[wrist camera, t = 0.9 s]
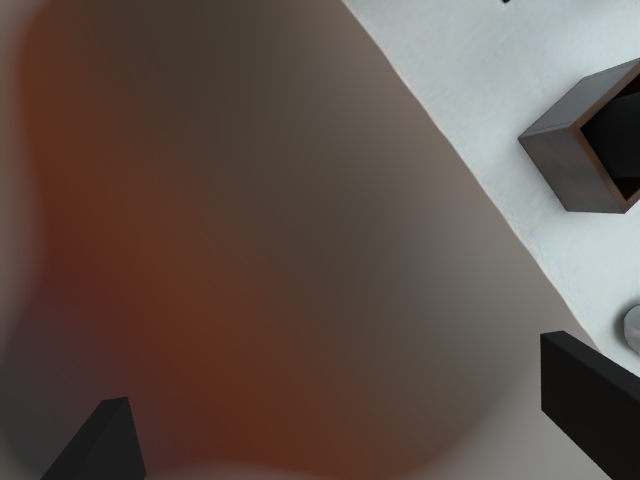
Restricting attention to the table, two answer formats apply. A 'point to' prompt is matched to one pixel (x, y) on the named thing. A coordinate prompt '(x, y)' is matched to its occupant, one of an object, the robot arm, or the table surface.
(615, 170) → the bottle
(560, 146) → the holder
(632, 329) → the grey sculpted head
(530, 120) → the table surface
